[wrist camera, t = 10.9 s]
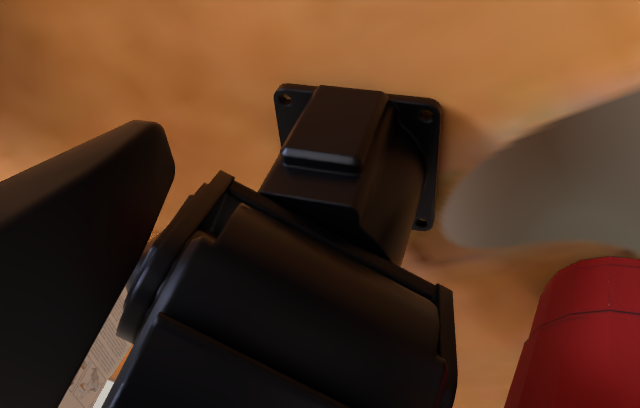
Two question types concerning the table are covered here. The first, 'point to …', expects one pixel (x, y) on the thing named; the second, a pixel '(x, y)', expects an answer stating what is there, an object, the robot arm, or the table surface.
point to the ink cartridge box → (98, 362)
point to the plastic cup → (583, 340)
